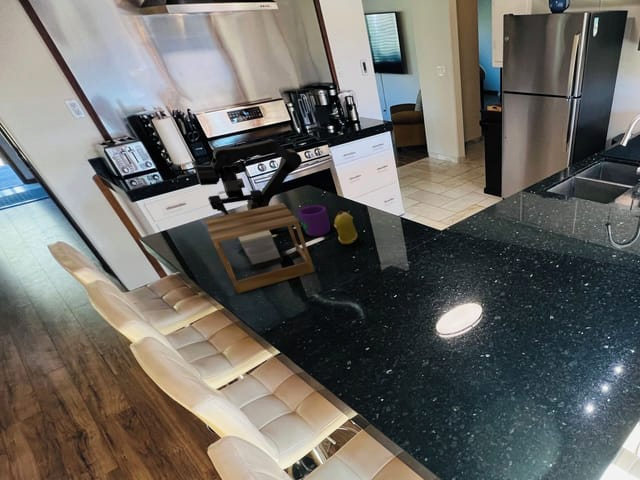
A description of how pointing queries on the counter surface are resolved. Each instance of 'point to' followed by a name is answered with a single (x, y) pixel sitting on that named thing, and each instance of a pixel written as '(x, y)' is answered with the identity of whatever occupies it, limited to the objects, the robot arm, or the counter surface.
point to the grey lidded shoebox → (260, 249)
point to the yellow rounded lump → (345, 228)
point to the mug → (314, 220)
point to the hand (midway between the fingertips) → (244, 219)
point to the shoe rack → (252, 224)
